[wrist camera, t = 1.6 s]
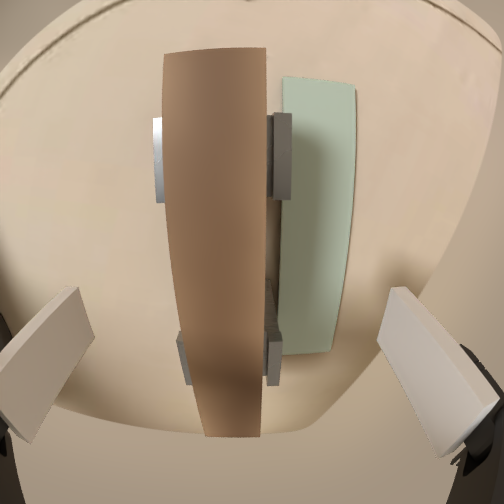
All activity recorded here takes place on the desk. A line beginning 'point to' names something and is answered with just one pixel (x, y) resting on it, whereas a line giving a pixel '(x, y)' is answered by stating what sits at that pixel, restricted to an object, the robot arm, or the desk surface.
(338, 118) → the mat
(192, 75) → the rail
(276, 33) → the desk surface
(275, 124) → the cradle posts
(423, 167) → the desk surface
